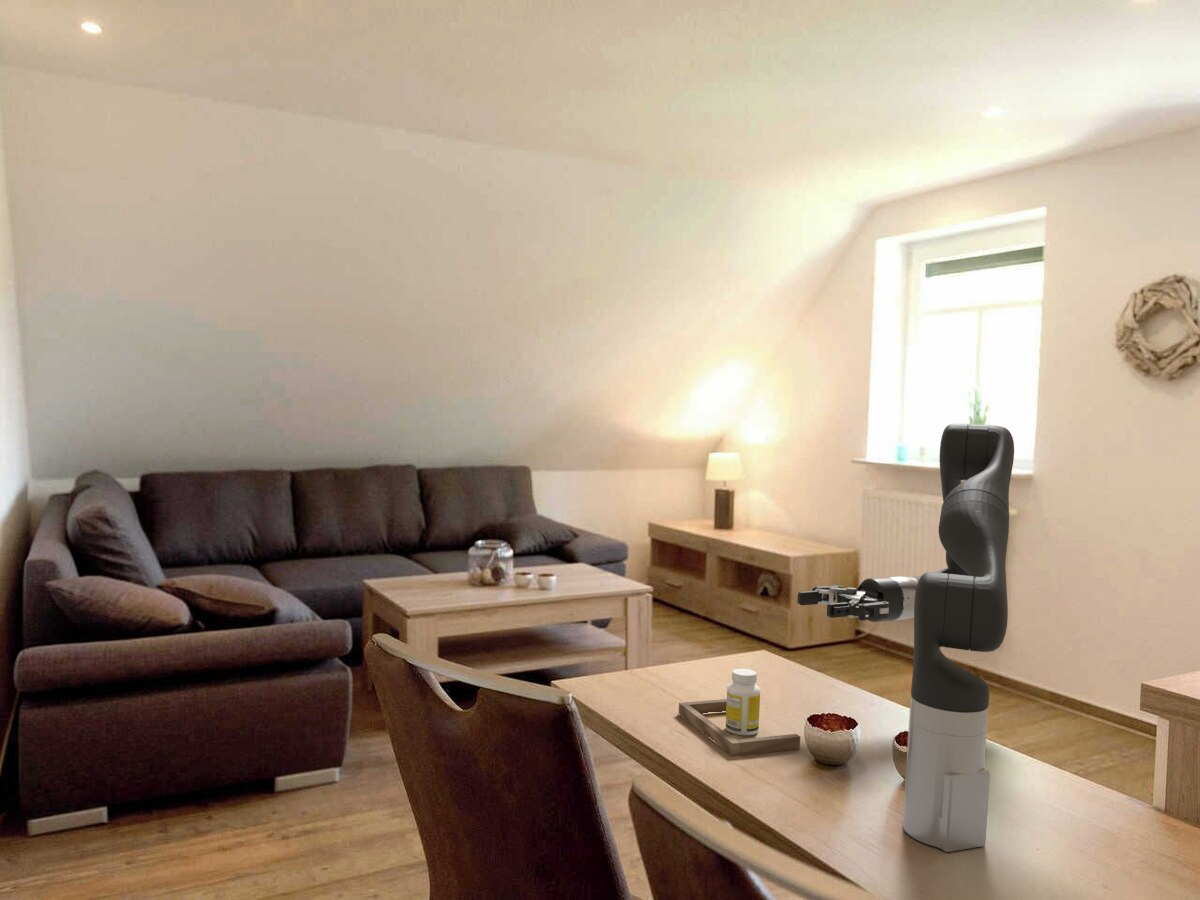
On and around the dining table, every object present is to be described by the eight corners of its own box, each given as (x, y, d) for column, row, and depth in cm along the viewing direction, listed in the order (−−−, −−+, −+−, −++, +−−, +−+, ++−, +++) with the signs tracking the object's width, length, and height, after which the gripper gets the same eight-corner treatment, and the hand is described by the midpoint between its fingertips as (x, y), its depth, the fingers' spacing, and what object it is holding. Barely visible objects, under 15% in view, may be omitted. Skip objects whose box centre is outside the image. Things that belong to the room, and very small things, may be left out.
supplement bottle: (757, 726, 154) (760, 668, 153) (759, 737, 149) (762, 678, 148) (724, 723, 155) (727, 666, 154) (725, 735, 149) (728, 675, 149)
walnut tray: (799, 749, 144) (800, 736, 144) (731, 756, 140) (732, 743, 140) (740, 709, 162) (740, 697, 162) (678, 714, 158) (679, 702, 158)
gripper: (866, 569, 167) (790, 573, 161) (920, 586, 154) (839, 592, 148) (864, 609, 168) (788, 616, 162) (918, 630, 155) (837, 638, 149)
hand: (813, 604), depth 155 cm, fingers open, 8 cm apart
